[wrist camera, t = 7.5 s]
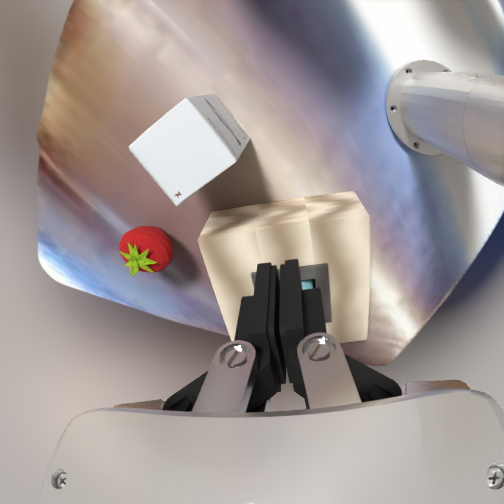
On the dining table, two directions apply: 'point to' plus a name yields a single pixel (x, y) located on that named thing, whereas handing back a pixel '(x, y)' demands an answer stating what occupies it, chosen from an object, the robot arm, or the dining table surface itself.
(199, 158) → the supplement box
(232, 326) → the collar block
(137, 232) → the strawberry
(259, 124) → the dining table surface
